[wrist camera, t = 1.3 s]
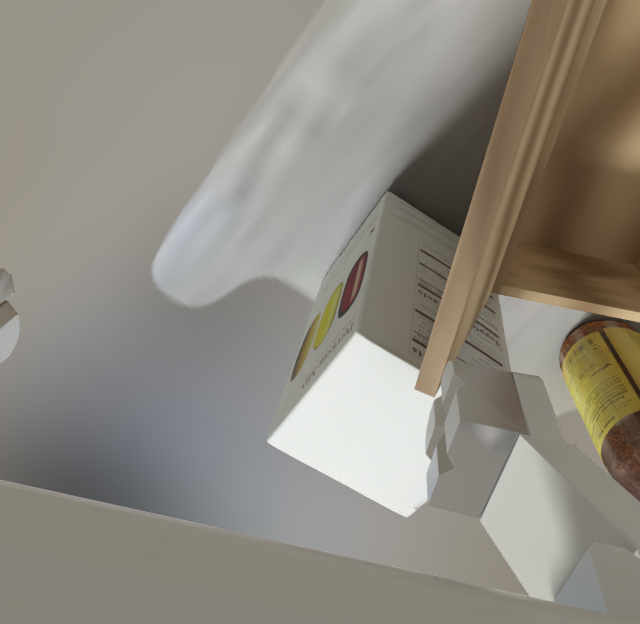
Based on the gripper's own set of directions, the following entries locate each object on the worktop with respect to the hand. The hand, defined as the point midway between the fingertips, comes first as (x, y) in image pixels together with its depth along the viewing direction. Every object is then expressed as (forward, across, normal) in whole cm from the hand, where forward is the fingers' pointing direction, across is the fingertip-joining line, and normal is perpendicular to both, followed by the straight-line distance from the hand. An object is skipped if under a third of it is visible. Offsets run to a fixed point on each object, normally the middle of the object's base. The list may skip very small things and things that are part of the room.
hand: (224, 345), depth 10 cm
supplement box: (+30, -6, +12) cm, 32 cm away
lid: (+16, -8, 0) cm, 18 cm away
